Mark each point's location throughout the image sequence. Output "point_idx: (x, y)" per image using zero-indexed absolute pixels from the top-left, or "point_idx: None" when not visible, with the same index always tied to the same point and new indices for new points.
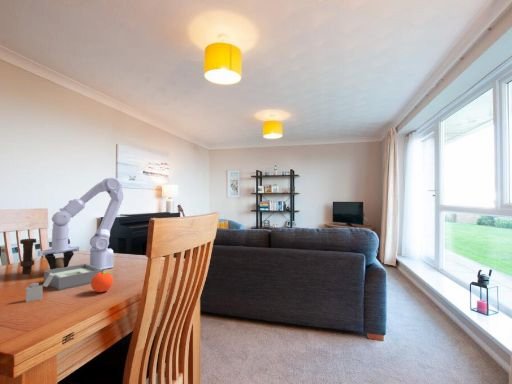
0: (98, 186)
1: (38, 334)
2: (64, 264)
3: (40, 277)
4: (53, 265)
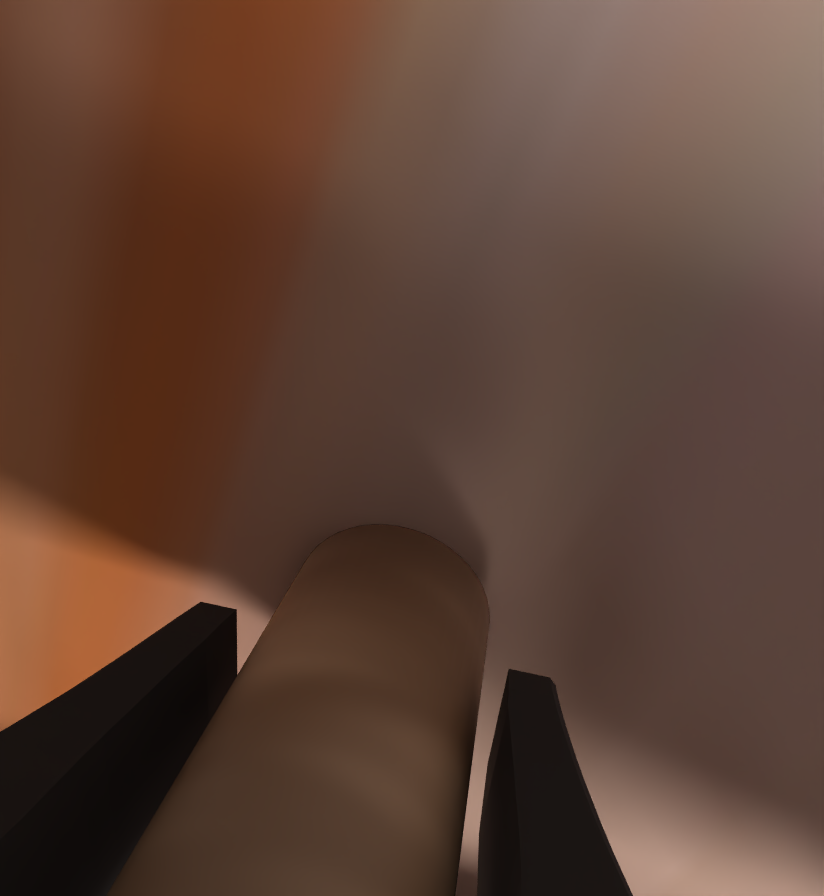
0: None
1: None
2: (501, 805)
3: (77, 517)
4: None
